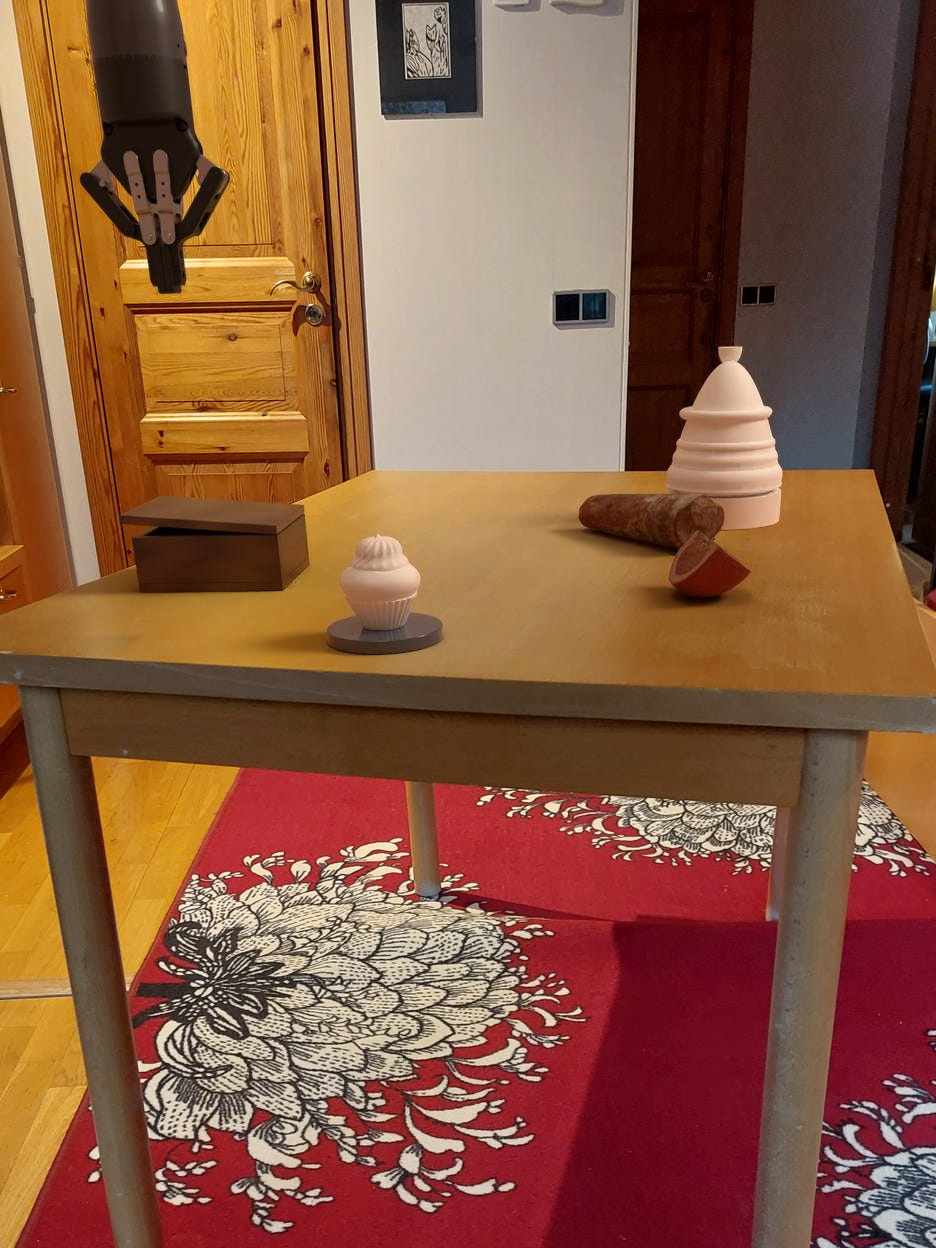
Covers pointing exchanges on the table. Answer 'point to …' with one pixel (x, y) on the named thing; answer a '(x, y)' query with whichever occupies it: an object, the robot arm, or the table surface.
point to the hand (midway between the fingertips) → (170, 293)
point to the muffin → (380, 584)
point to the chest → (219, 559)
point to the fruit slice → (705, 568)
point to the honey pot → (729, 448)
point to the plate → (385, 635)
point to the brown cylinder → (653, 516)
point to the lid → (213, 514)
